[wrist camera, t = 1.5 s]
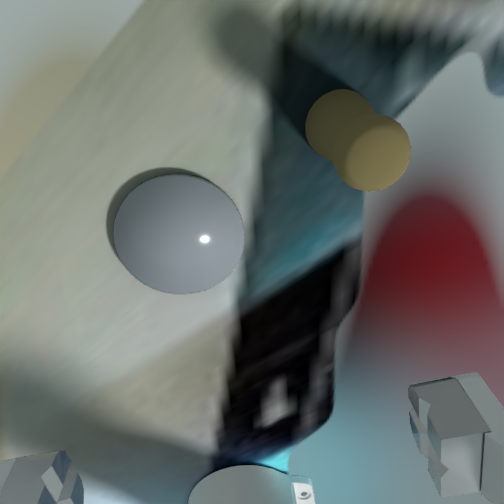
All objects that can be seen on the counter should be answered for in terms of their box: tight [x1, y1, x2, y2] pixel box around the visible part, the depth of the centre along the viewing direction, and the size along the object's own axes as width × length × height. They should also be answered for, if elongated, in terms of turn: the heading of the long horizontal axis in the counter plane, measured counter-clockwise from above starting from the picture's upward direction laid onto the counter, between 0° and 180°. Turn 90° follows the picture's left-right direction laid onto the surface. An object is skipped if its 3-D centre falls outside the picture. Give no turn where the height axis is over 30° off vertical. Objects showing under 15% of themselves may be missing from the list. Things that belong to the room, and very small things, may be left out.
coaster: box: [113, 174, 244, 294], centre depth 43 cm, size 12×12×1 cm
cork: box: [305, 89, 411, 192], centre depth 35 cm, size 6×6×11 cm
